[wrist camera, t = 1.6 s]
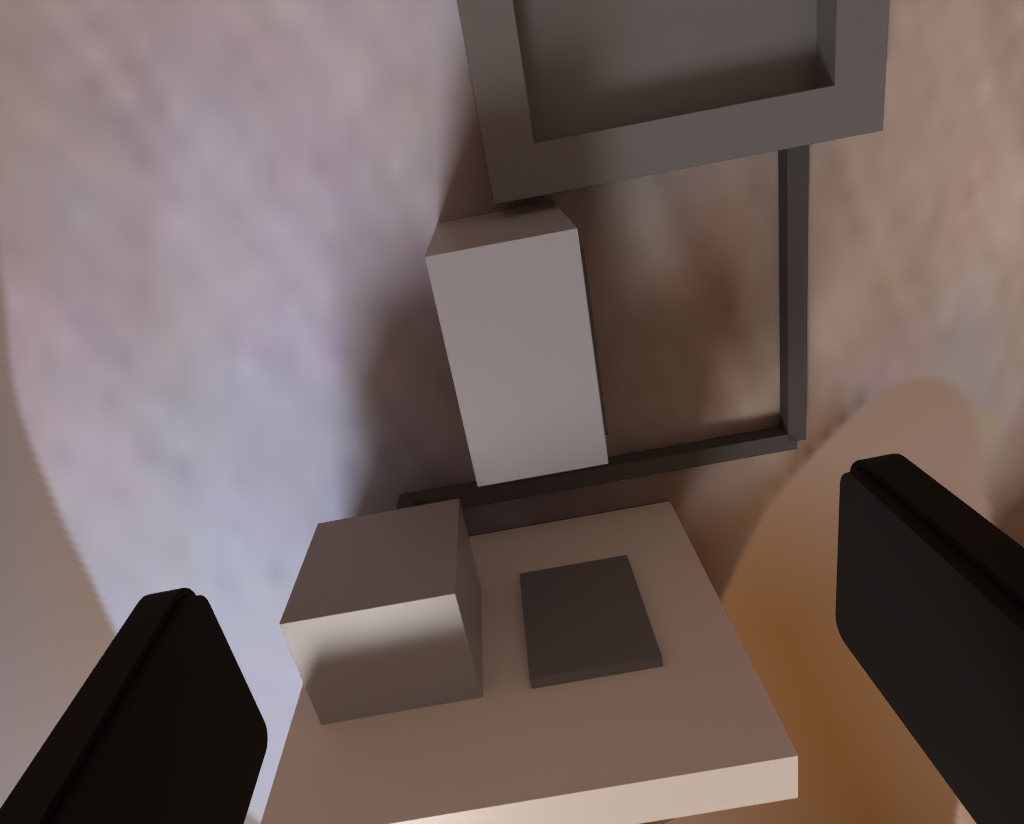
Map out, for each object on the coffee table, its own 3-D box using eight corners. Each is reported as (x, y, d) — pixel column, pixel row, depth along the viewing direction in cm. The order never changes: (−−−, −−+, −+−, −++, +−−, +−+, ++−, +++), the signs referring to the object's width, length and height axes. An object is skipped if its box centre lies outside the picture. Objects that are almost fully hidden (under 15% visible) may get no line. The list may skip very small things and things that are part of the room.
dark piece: (799, 138, 22) (856, 142, 19) (798, 439, 27) (843, 484, 23) (322, 229, 22) (295, 249, 19) (403, 509, 27) (393, 564, 24)
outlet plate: (661, 415, 26) (798, 634, 15) (672, 532, 28) (797, 797, 17) (312, 478, 26) (195, 738, 15) (351, 589, 29) (274, 883, 18)
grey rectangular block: (557, 200, 22) (583, 227, 17) (584, 387, 25) (613, 462, 20) (437, 222, 23) (424, 256, 17) (477, 407, 25) (477, 486, 20)
